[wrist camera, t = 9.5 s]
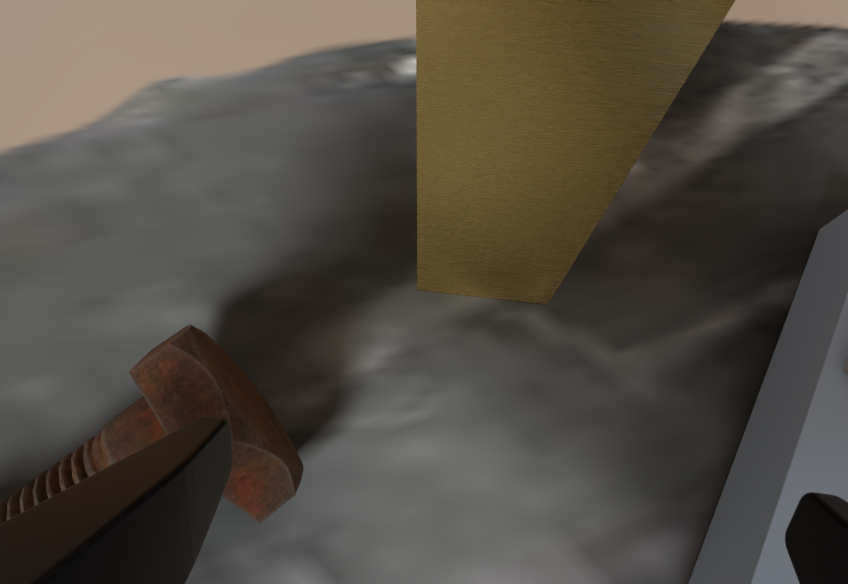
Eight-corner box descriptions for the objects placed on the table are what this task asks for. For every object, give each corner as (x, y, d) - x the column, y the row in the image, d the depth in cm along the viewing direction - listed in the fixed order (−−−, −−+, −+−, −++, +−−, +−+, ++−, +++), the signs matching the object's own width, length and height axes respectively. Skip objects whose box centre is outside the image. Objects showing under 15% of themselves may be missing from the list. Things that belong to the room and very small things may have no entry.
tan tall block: (547, 304, 19) (773, -61, 7) (417, 289, 19) (416, -93, 7) (550, 215, 20) (745, -223, 8) (428, 202, 20) (443, -246, 8)
